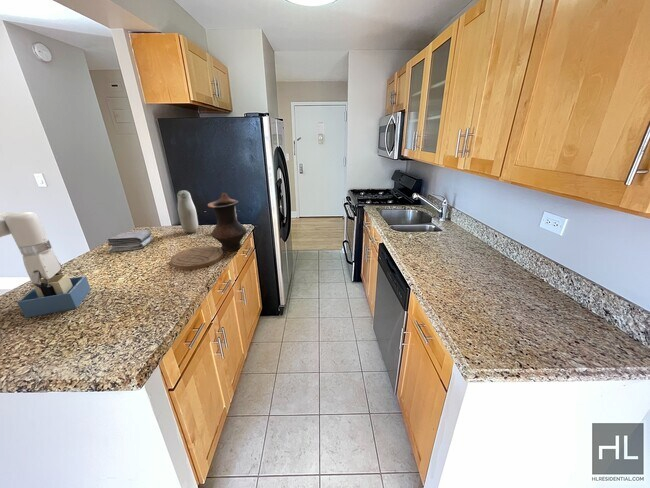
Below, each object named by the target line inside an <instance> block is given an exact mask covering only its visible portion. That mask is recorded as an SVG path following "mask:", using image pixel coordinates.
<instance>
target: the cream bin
mask: <svg viewBox="0 0 650 488" xmlns="http://www.w3.org/2000/svg"><path fill="white" fill-rule="evenodd" d="M70 278H71V277H70V276H69V274H68V273H63V274H62V275H55V276H53V277H52V278H50V284H51V286H53V288H54V290H55V292H56V294H57V295H59V294H65V293H67V292H68V291H69V290H70V289H71V288H72V287H73V285H72V283H71V280H70ZM41 279H46V278H45V277H44V278H41ZM42 283H46V281H42ZM33 288H34V289H35V291H36V293H37V295H38V296H39V298H41V297H44V295H43V293H42V291H41V289H39V287H37V286H36V285H34V284H33Z"/></svg>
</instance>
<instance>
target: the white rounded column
mask: <svg viewBox="0 0 650 488" xmlns="http://www.w3.org/2000/svg"><path fill="white" fill-rule="evenodd" d="M191 195H192V194H191V193H190V192H189V191H188V190H185V189H182V190H179V191H178V192H177V194H176V197H177V213H178V217H179V222H180V226H181V228H182V230H183V231H184V232H186V233H189V234H190V233H191V234H193V233H195V232H197V231H198V229H199V219H198V214H197V208H196V206H195V204H194V201H193V199H192V196H191Z"/></svg>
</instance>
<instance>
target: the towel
mask: <svg viewBox="0 0 650 488" xmlns="http://www.w3.org/2000/svg"><path fill="white" fill-rule="evenodd" d="M151 235H152V232H151V231H150V230H148V229H147V230H146V229H140V230H135V231H130V232H121V233H118V234H117V235H115V236H114V237H107V246H110V247H109V249H108V252H109V253H115V252H126V251H127V252H128V251H136V250H141V249H144V247H145V246H147V245H148V244H150V242H152V241H153V240H154V239H153V237H152V236H151Z"/></svg>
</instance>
